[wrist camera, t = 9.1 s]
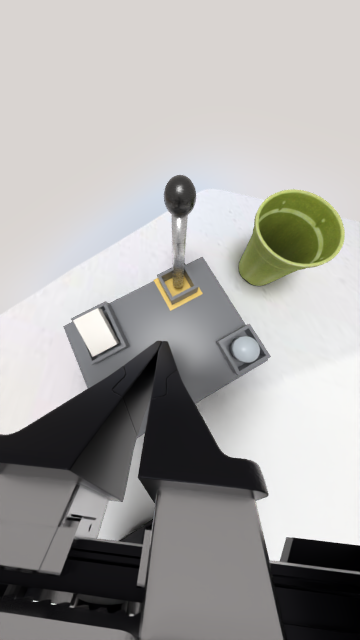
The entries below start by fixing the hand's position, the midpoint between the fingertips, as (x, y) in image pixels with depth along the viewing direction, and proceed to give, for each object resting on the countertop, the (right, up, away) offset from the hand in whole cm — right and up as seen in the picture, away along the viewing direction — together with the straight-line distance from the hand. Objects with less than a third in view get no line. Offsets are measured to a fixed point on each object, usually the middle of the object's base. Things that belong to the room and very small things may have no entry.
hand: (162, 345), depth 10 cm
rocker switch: (-9, 0, +7) cm, 12 cm away
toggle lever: (+1, +7, +9) cm, 11 cm away
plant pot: (+14, +10, +13) cm, 22 cm away
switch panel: (-1, -2, +11) cm, 11 cm away
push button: (+9, -2, +8) cm, 12 cm away
